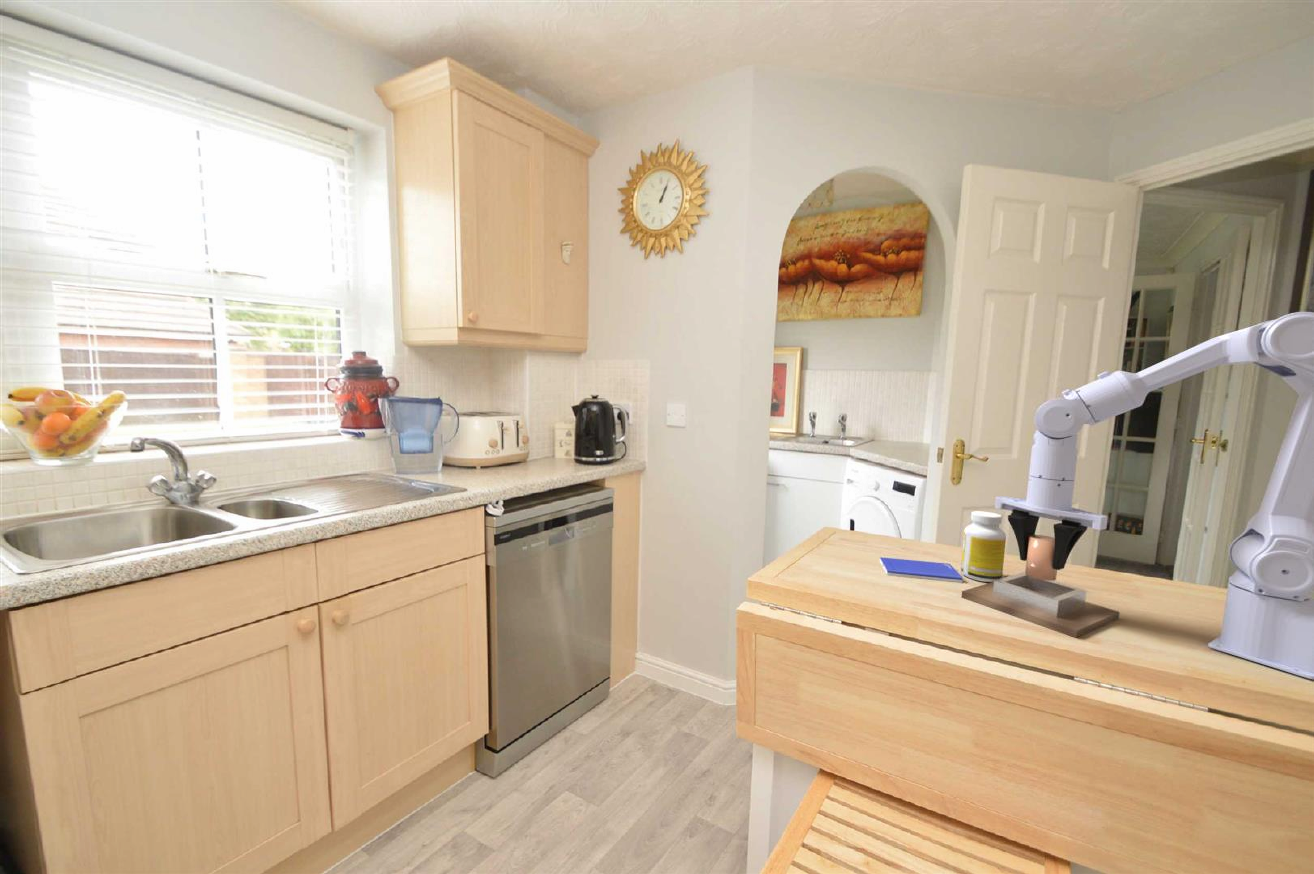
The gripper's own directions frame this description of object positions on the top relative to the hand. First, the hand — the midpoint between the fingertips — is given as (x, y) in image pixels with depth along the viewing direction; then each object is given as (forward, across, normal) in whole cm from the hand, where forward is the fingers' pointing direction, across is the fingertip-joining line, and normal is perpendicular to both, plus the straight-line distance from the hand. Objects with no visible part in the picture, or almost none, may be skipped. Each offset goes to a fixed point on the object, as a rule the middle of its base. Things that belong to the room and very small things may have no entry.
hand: (1041, 563), depth 86 cm
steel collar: (+7, 0, 0) cm, 7 cm away
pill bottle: (+7, +12, -6) cm, 15 cm away
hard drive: (+8, +19, +2) cm, 21 cm away
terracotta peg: (+2, 0, 0) cm, 2 cm away
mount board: (+7, 0, 0) cm, 7 cm away
